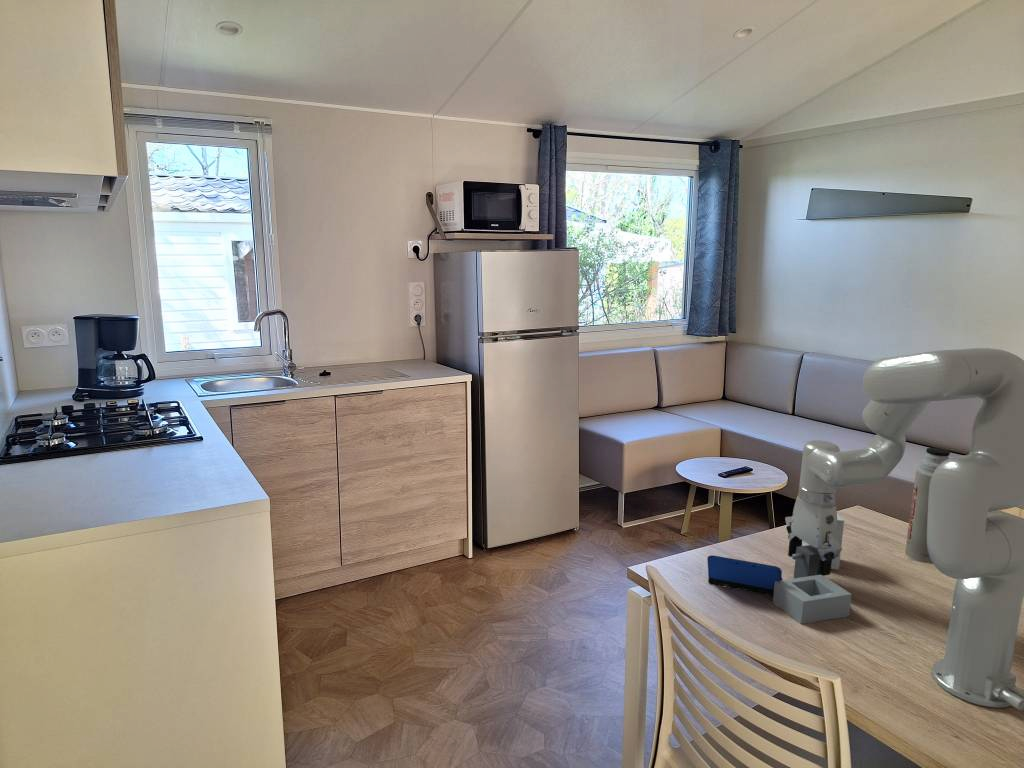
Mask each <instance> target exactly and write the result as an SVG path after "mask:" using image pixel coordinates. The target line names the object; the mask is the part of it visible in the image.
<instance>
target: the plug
mask: <svg viewBox="0 0 1024 768" xmlns="http://www.w3.org/2000/svg"><path fill="white" fill-rule="evenodd" d="M825 554H826V552H825ZM819 559H821V557H820V555H819V552H818V549H816V548H814V547H813V546H811V545H807V546H799V547H797V548H796V554H793V555H792V560H795V561H794V570H793V571H794V572H793V579H794V578H801V577H808V576H815V575H817V567H818V560H819Z"/></svg>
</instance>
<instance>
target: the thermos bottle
mask: <svg viewBox="0 0 1024 768" xmlns="http://www.w3.org/2000/svg"><path fill="white" fill-rule="evenodd" d="M950 454H951V452H950V450H947V449H943V448H938V447H927V448H926V453H925V457H924V459H920V463H919V467H917V468H916V469H915V475H914V482H913V483H914V484H913V490H912V491H913V492H912V498H911V506H910V514H909V521H908V528H907V534H906V535H907V536H906V545H905V550H904V553H905V555H906V556H908V558H911V559H913V560H915V561H918V562H922V563H926V562H928V563H929V564H930V563H931V564H933V562H932V560H931V558H930V556H929V553H928V548H927V518H928V497H929V485H930V480H931V477H932V475H933V473H934V471H935V469H936V468H937V467H938V466H939V465H940V464H941V463H942V462H944V461H945V460H947V459H950V458H949V457H950ZM928 563H927V564H928Z"/></svg>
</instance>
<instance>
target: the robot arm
mask: <svg viewBox="0 0 1024 768" xmlns="http://www.w3.org/2000/svg"><path fill="white" fill-rule="evenodd" d="M862 387H863V392H864V393H865V394H866V396H867V397H868V398H869V402H868V404H866V406H865V407H864V409H863V411H862V413H861V417H862V420H863V423H864V424H865V425H866V427H867V428H869V430H871V432H873V433H874V434H876V435H875V436H874V438H873V439H872V440H871V441H870V443H869V444H868V445H867V446H866V447H865V448H864V449H854V450H853V449H852V450H845V451H844V450H842V451H841V449H840V448H839V446H838V445H837V444H836V443H833V442H830V441H827V440H820V439H819V440H815V439H814V440H809V441H807V442H806V443H805V444H804V446H803V449H802V456H801V457H802V460H801V468H800V477H799V485H798V494H797V497H796V498H795V499H796V500H795V503H794V506H793V509H792V511H793V512H792V516H786V517H784V520H785V523H786V524H785V525H786V531H787V534H788V535H787V539H788V541H789V542H788V543H789V544H788V552H787V556H788V557H789V558H791V557H792V555H793V554H796V548H797V547H799V546H802V543H803V541H804V542H806V543H808V544H809V545H811V546H813V547H814V548H816V549H818V552H819V555H820V557H821V559H819V560H818V567H817V575H823V576H824V577H825V576H829V575H831V572H832V569H831V564H832V560H833V559H835V558H836V557H837V556H838V554H839V553H840V552H841V553H842V550H843V547H842V545H840V544H839V543H838V541H837V512H838V511H837V506H836V505H835V504H836V500H837V499H836V493H837V492H836V490H837V489H842V488H843V489H844V488H852V487H857V486H864V485H865V486H866V485H872V484H877V483H880V482H881V481H883V480H884V479H886V477H888V476H889V474H891V472H892V471H893V470H894V469H895V468H896V466H898V464H899V463H900V462H901V461H902V459H903V457H904V454H905V450H906V444H907V443H906V442H907V441H906V433H907V431H908V430H909V429H910V427H911V426H912V425H913V424H914V423H915V421H916V420H917V419H918V418H919V417H920V415H921V414H922V413H923V411H925V409H926V408H927V407H928V405H929V404H930V403H931V402H940V401H941V402H943V401H953V400H966V399H977V398H978V399H981V400H982V404H981V406H980V408H979V409H978V411H977V413H976V416H975V417H974V420H973V423H972V427H971V443H970V444H971V445H970V449H969V453H968V454H965V455H958V456H953V457H951V458H949V459H947V460H945V461H944V462H942V463H941V464H940V465H939V466H938V467H937V468H936V469H935V471H934V473H933V475H932V477H931V480H930V485H929V497H928V518H927V548H928V553H929V556H930V558H931V560H932V562H933V563H932V564H933V566H935V568H936V569H937V570H938V571H939V572H940V573H942V574H943V575H944V576H946V577H948V578H950V579H956V581H955V586H954V592H953V597H952V603H951V610H950V618H949V623H948V628H947V629H948V630H947V636H946V637H947V638H946V645H945V651H944V657H943V659H939V660H936V661H935V662H934V663H933V664H932V667H931V669H932V670H931V675H932V678H933V680H934V681H935V682H936V683H937V684H938V685H939V686H940V687H941V689H943V690H945V691H946V692H948V693H949V694H951V695H953V696H955V697H957V698H958V699H961V700H963V701H966V702H968V703H972V704H974V705H978V706H983V707H989V708H998V709H999V708H1000V709H1001V708H1007V707H1011V706H1012V707H1014V708H1015V709H1017V710H1018V711H1023V710H1024V690H1022V689H1021V688H1018V687H1017V685H1016V683H1017V682H1016V680H1017V675H1015V674H1014V673H1012V672H1011V671H1012V663H1013V659H1014V651H1015V647H1016V640H1017V636H1018V635H1017V634H1018V628H1019V624H1020V619H1021V616H1020V615H1021V612H1022V606H1023V602H1024V520H1022V519H1020V518H1018V517H1016V516H1013V515H1010V514H1006V513H1005V514H1003V513H991V512H997V511H1002V510H1003V511H1004V510H1009V509H1012V508H1013V509H1014V508H1016V507H1019V506H1021V505H1023V504H1024V359H1022V357H1020V356H1019V355H1016V354H1014V353H1013V352H1010V351H1006V350H1003V349H996V348H989V347H987V348H986V347H985V348H984V347H978V348H963V349H961V348H960V349H959V348H958V349H943V350H942V349H941V350H933V351H926V352H918V353H913V354H905V355H901V356H892V357H891V356H890V357H883V358H879V359H877V360H875V361H874V362H872V363H871V364H870V365H869V366H868V367H867V369H866V370H865V372H864V374H863V378H862ZM988 513H989V514H988ZM822 544H825V545H823V546H822ZM831 547H832V548H831ZM823 549H826V550H827V554H825V552H824V550H823Z"/></svg>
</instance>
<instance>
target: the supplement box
mask: <svg viewBox="0 0 1024 768" xmlns="http://www.w3.org/2000/svg"><path fill="white" fill-rule="evenodd" d="M844 526H845V519H843V517H842V516H841V514H839V512H838V511H837V541H838V543H839V544H840V545H841V546H842V543H843V534H844ZM807 545H809V544H808V543H806V542H804V541H803V540H802V546H807ZM823 545H825V544H822V546H823ZM831 548H832V547H831ZM823 550H824V552H826V554H827V550H826V549H823ZM841 554H842V551H841V552H840V553H839V554H838V556H837V557H836V558H835V559H833V560H832V564H831V570H839V569H840V565H841V564H840V562H841V561H840V560H841Z"/></svg>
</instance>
